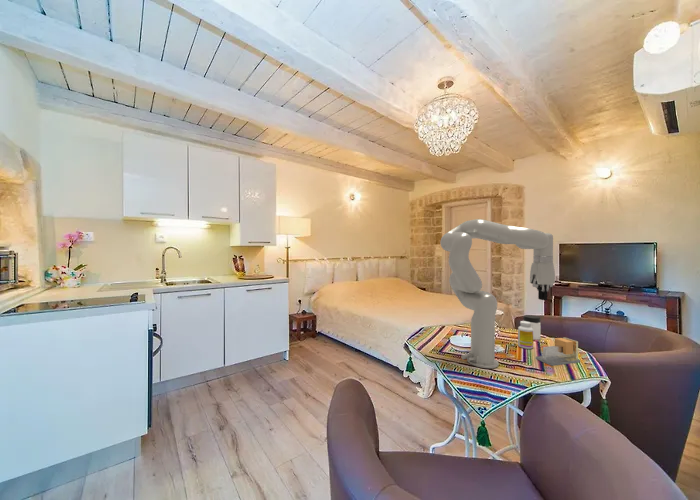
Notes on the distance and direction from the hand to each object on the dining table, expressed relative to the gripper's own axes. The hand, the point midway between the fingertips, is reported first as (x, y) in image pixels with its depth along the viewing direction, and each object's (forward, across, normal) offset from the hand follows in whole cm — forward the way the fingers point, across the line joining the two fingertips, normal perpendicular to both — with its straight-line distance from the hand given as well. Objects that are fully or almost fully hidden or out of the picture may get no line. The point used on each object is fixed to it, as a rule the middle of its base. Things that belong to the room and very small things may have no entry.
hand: (542, 299), depth 131 cm
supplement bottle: (+27, -5, -14) cm, 31 cm away
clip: (+24, -8, +4) cm, 25 cm away
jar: (+27, -22, -26) cm, 44 cm away
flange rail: (+27, -4, +4) cm, 28 cm away
